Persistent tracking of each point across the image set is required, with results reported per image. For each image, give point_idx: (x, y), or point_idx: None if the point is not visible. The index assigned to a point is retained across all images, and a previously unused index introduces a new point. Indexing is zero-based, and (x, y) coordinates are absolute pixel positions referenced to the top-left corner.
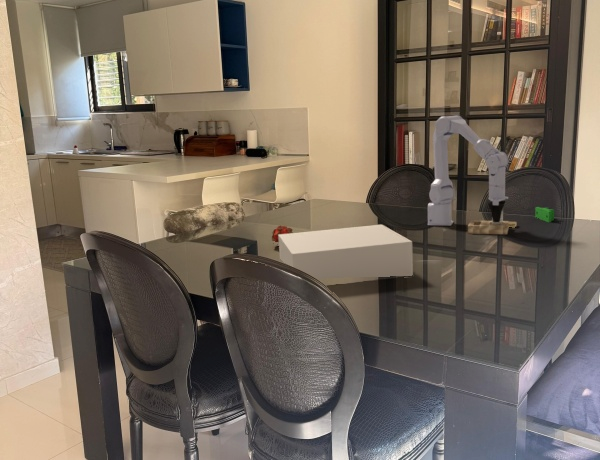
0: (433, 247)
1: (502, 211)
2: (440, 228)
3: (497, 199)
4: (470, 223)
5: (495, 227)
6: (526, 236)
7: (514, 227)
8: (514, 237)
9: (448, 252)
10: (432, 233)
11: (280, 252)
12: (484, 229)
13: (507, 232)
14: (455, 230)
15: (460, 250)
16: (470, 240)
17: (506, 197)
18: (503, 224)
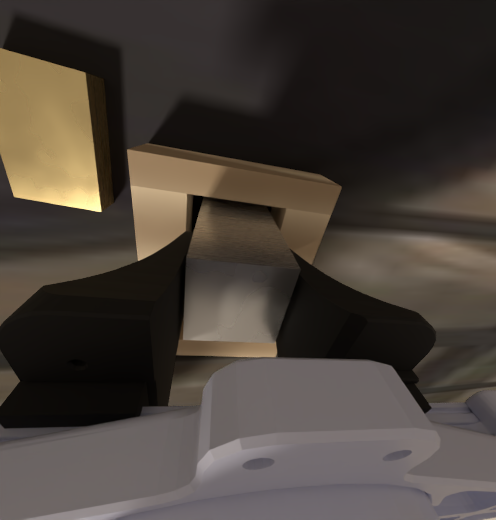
0: (422, 381)
1: (298, 267)
2: (178, 392)
3: (487, 492)
4: (224, 352)
5: (312, 252)
6: (417, 38)
7: (102, 86)
8: (409, 139)
9: (492, 355)
10: None
11: None
12: None
13: (283, 168)
14: (210, 360)
15: (493, 336)
16: None
17: (428, 457)
18: (269, 205)
